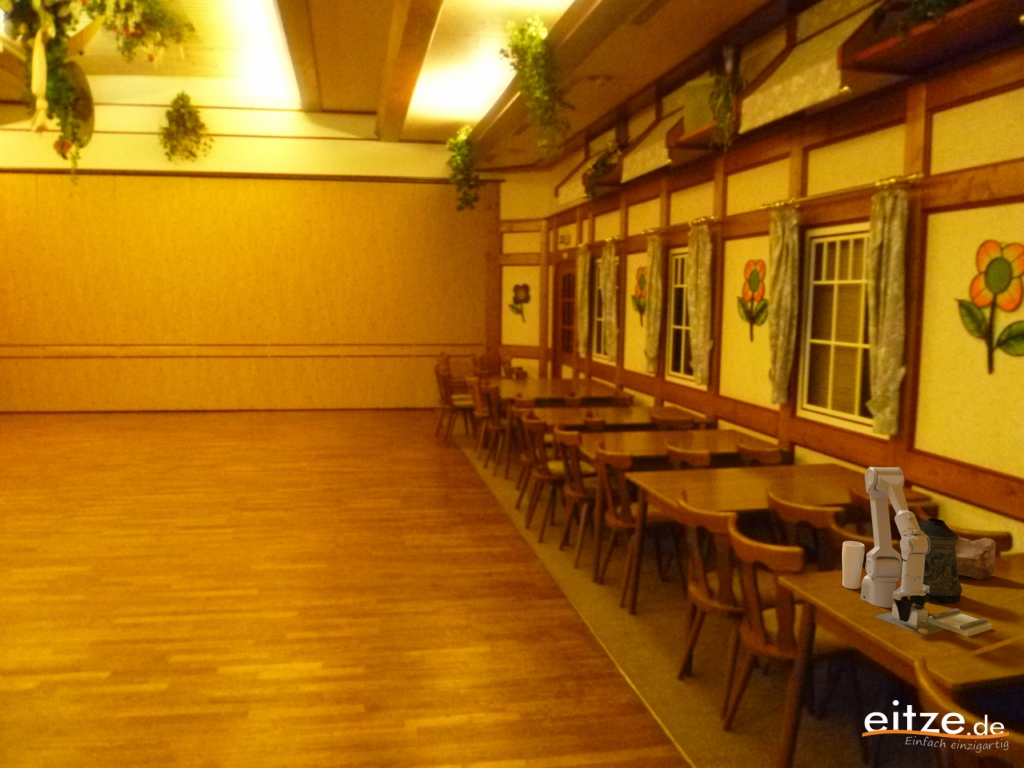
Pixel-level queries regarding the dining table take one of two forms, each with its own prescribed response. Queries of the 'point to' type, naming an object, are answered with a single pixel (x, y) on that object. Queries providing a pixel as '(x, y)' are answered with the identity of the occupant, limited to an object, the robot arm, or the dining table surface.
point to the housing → (912, 616)
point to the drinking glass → (852, 563)
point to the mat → (921, 631)
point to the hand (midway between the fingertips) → (909, 619)
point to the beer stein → (941, 563)
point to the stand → (960, 622)
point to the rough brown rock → (976, 557)
